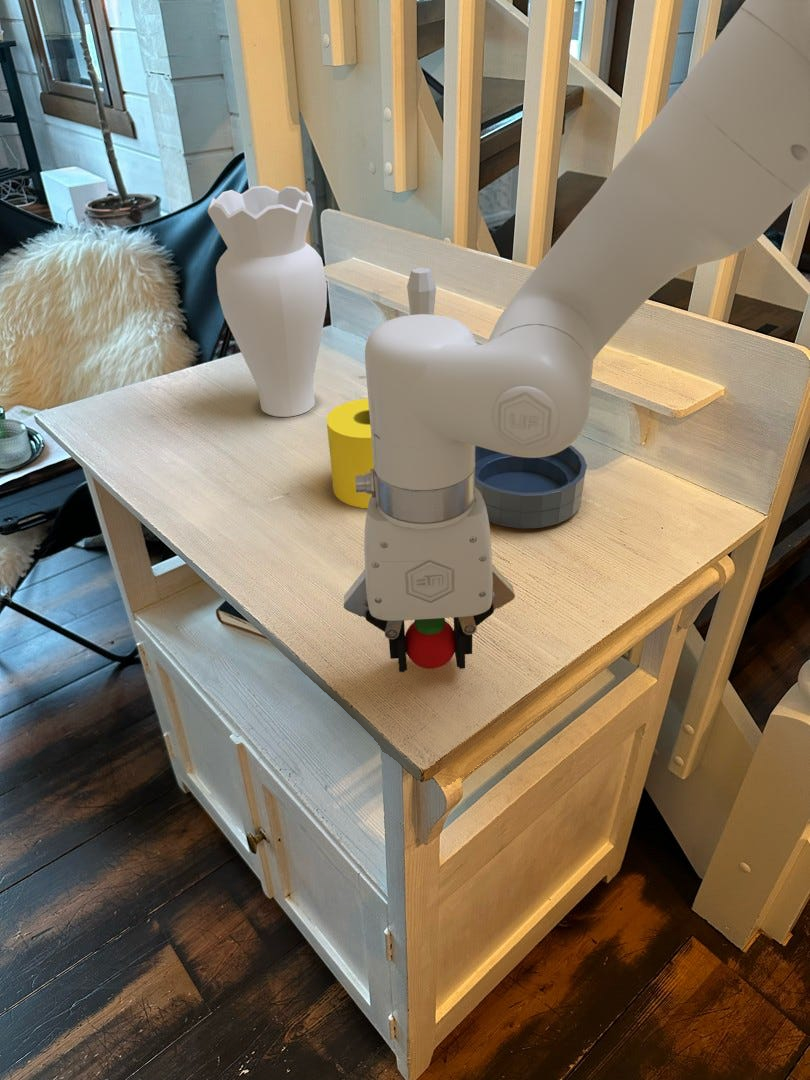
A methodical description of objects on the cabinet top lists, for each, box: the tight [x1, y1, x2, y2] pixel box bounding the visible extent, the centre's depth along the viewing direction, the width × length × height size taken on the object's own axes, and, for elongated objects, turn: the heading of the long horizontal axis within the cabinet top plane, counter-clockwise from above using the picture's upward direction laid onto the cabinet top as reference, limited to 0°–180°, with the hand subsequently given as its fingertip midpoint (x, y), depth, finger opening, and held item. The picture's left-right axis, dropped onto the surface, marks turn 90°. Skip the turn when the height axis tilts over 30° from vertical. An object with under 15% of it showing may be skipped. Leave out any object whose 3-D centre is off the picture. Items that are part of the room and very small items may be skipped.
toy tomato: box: [405, 618, 456, 670], centre depth 66 cm, size 5×5×5 cm
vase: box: [206, 185, 328, 418], centre depth 104 cm, size 15×15×29 cm
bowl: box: [475, 444, 588, 529], centre depth 89 cm, size 14×14×5 cm
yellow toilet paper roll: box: [326, 398, 374, 509], centre depth 91 cm, size 10×10×9 cm
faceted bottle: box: [406, 267, 437, 315], centre depth 98 cm, size 6×6×22 cm
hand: (430, 657), depth 68 cm, fingers closed on toy tomato, 4 cm apart
